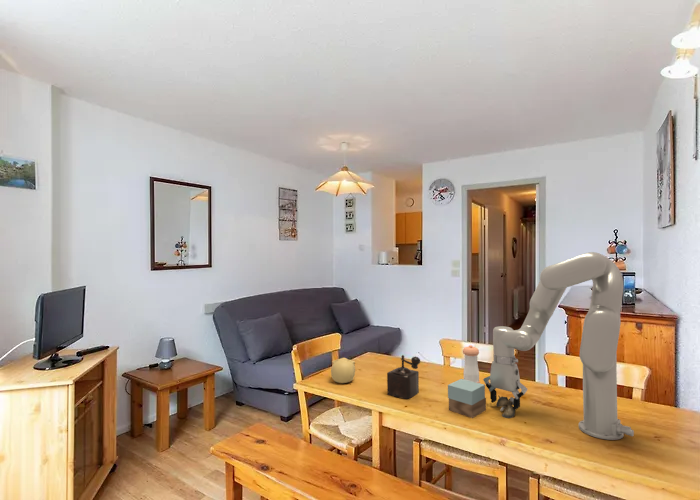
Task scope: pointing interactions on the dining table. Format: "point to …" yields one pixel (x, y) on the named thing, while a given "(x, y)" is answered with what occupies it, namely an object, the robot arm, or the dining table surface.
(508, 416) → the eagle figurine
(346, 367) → the sculpture
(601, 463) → the dining table surface
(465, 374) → the pepper shaker
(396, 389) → the manual coffee grinder
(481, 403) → the tower base
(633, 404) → the dining table surface
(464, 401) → the tower top
